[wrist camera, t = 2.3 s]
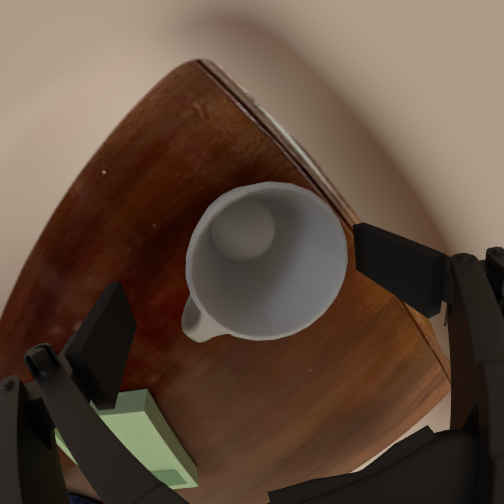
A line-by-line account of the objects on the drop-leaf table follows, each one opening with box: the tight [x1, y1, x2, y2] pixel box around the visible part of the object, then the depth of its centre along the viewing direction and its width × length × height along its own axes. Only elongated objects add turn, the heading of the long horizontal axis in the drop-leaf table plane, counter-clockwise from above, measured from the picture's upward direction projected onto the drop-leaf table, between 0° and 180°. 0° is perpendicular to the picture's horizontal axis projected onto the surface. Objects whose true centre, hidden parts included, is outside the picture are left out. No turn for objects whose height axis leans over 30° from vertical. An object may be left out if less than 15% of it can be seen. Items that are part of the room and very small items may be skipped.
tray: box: [54, 389, 199, 489], centre depth 24 cm, size 15×13×3 cm
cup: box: [182, 182, 348, 342], centre depth 17 cm, size 8×10×8 cm
